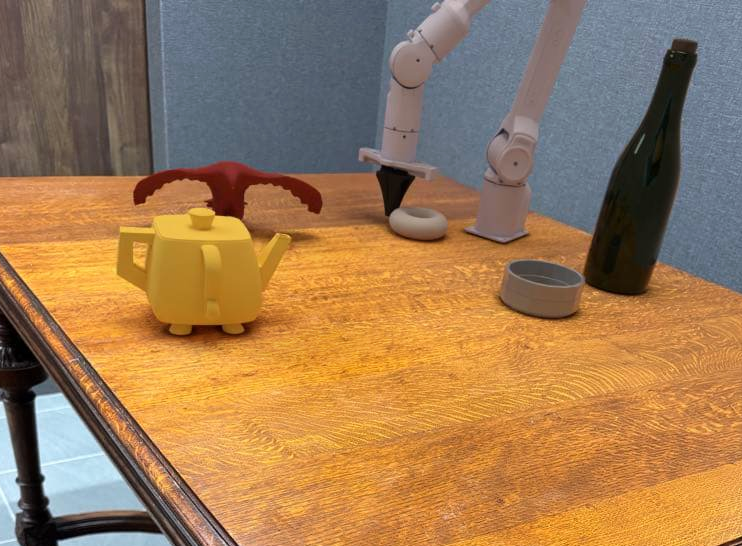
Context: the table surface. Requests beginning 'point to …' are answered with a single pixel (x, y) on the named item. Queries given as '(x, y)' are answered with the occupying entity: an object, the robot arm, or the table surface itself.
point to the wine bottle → (643, 185)
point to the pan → (541, 288)
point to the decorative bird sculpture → (229, 186)
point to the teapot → (200, 269)
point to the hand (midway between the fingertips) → (390, 215)
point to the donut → (418, 223)
